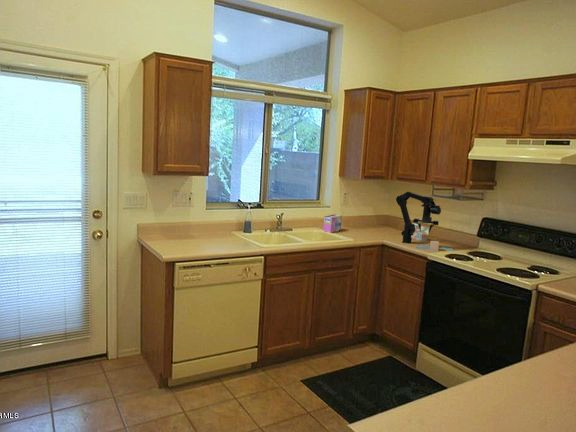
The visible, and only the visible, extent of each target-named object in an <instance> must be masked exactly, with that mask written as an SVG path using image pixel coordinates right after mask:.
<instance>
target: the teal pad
mask: <svg viewBox="0 0 576 432" xmlns="http://www.w3.org/2000/svg"><path fill="white" fill-rule="evenodd" d="M440 250H445V251H454V248H451V247H450V248H449V247H443V246H441V247H440Z"/></svg>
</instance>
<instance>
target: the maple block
mask: <svg viewBox="0 0 576 432" xmlns="http://www.w3.org/2000/svg"><path fill="white" fill-rule="evenodd" d="M429 229H430V226H427V225H426V226H425V225H422V226H421V232H420V234H423V235H428V236H429V234H430V232H429Z"/></svg>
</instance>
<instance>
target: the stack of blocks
mask: <svg viewBox="0 0 576 432" xmlns="http://www.w3.org/2000/svg"><path fill="white" fill-rule="evenodd" d="M411 223H412V224H414V225H415V228H416V229H415V232H414V234H413V235H411V237H412V240H417V241H419V240H420V242H427V241H428V236H429V235H423V234H420V229H419V225H418V224H417V223H414V222H411ZM421 226H423V225H422V224H421Z"/></svg>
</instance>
